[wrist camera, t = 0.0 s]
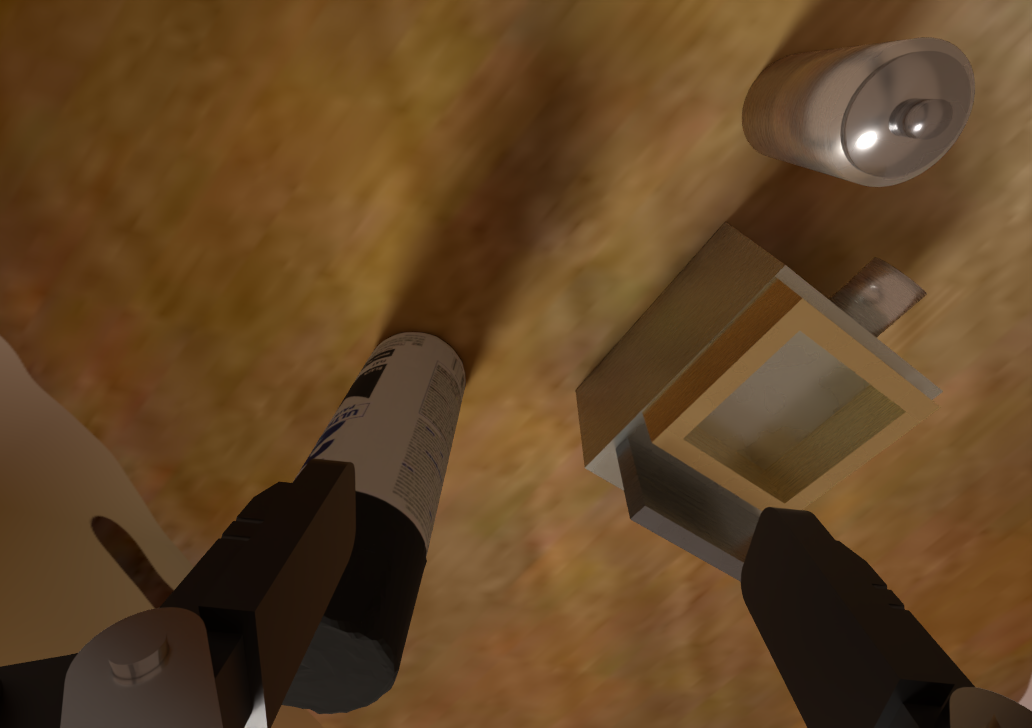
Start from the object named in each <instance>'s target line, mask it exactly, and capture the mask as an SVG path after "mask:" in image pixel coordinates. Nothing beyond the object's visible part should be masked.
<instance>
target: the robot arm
mask: <svg viewBox="0 0 1032 728" xmlns="http://www.w3.org/2000/svg"><path fill="white" fill-rule="evenodd" d="M355 532H356V499H355V467H354V464H353V463H352V462H344V461H334V460H325V459H315V458H313V459H311V460H310V461H309V462H308V463H307V465H306V466H305V467H304V468H303V470H302V471H301V472H300V474H299V475H298V476H297V478H296V479H295V480H294V482H293V483H287V482H278V483H276V484H274V485H273V486H271V487H270V488H268V489H266V490H265V491H263V492H261V493H260V494H258V495H257V496H255V497H253V499H252V500H251V501H250V502H249V503H248V505H247V506H246V507H245V508H244V509H243V510H242V512H241V513H240V514H239V515H238V516H237V519H236V521H233V522H232V523H231V524H230V526H229V527H228V528H227V529H226V530H225V531H224V533H223V534H222V538H221V539H218V540H217V541H216V542H215V543H214V544H213V546H212V547H211V548H210V549H209V550H208V551H207V553H206V554H205V555H204V556H203V557H202V558H201V560H200V561H199V562H198V563H197V564H196V565H195V567H194V568H193V569H192V570H191V571H190V573H189V574H188V575H187V576H186V577H185V578H184V580H183V581H182V582H181V583H180V584H179V585H178V587H177V588H176V589H175V590H174V591H173V592H172V594H171V595H170V596H169V597H168V598H167V599H166V601H165V602H164V603H163V604H162V605H161V607H160V608H156V609H151V610H147V611H143V612H140V613H137V614H135V615H132V616H129V617H127V618H125V619H122V620H120V621H118V622H117V623H115V624H113V625H111V626H110V627H108V628H107V629H105V630H103V631H102V632H101V633H99V634H98V635H96V636H95V637H94V638H93V639H92V640H91V641H90V642H88V643H87V644H86V645H85V646H84V647H83V648H82V649H81V651H80V652H79V653H76V654H71V655H67V656H60V657H55V658H49V659H43V660H37V661H31V662H26V663H19V664H14V665H8V666H2V667H0V728H271V726H272V724H273V722H274V720H275V718H276V715H277V713H278V711H279V709H280V707H281V705H282V703H283V700H284V698H285V696H286V694H287V692H288V690H289V688H290V685H291V683H292V681H293V679H294V677H295V675H296V673H297V670H298V668H299V666H300V664H301V662H302V660H303V658H304V656H305V653H306V651H307V649H308V647H309V645H310V643H311V641H312V638H313V636H314V634H315V632H316V630H317V628H318V626H319V623H320V621H321V619H322V617H323V615H324V613H325V611H326V608H327V606H328V604H329V602H330V600H331V598H332V596H333V594H334V591H335V589H336V587H337V585H338V583H339V581H340V579H341V576H342V574H343V572H344V570H345V568H346V566H347V564H348V561H349V559H350V556H351V553H352V549H353V545H354V540H355ZM741 589H742V594H743V598H744V601H745V603H746V606H747V608H748V610H749V612H750V614H751V616H752V618H753V620H754V622H755V624H756V626H757V628H758V630H759V632H760V634H761V636H762V638H763V640H764V642H765V644H766V646H767V648H768V650H769V652H770V654H771V656H772V658H773V660H774V662H775V664H776V666H777V668H778V670H779V672H780V674H781V676H782V678H783V680H784V682H785V684H786V686H787V688H788V690H789V692H790V694H791V696H792V698H793V700H794V702H795V704H796V706H797V708H798V710H799V712H800V714H801V716H802V718H803V720H804V722H805V724H806V726H807V728H1032V711H1030V710H1029V709H1027V708H1026V707H1024V706H1022V705H1020V704H1019V703H1017V702H1015V701H1013V700H1011V699H1009V698H1007V697H1005V696H1002V695H1000V694H997V693H995V692H992V691H989V690H985V689H981V688H976V687H975V686H974V685H973V684H972V683H971V682H970V681H969V679H968V678H967V677H966V676H965V675H964V674H963V672H962V671H961V670H960V669H959V668H958V667H957V665H956V664H955V663H954V662H953V661H952V660H951V659H950V657H949V656H948V655H947V654H946V653H945V652H944V650H943V649H942V648H941V647H940V646H939V645H938V644H937V642H936V641H935V640H934V639H933V638H932V637H931V635H930V634H929V633H928V632H927V631H926V630H925V629H924V627H923V626H922V625H921V624H920V623H919V622H918V620H917V619H916V618H915V617H914V616H913V615H912V614H911V612H910V611H909V610H905V609H904V604H903V603H902V602H901V601H900V600H899V598H898V597H897V596H896V595H895V594H894V593H893V592H892V590H888V589H887V585H886V583H885V582H884V581H883V580H882V579H881V578H880V577H879V575H878V574H877V573H876V572H875V571H874V570H873V568H872V567H871V566H870V565H869V564H868V563H867V562H866V561H865V560H864V559H862V558H861V557H860V556H858V555H857V554H856V553H854V552H853V551H852V550H850V549H849V548H848V547H846V546H845V545H844V544H842V543H841V542H840V541H836V540H835V539H834V538H833V537H832V536H831V534H830V533H829V532H828V531H827V530H826V528H825V527H824V526H823V525H822V524H821V522H820V521H819V520H818V519H817V518H816V516H815V515H814V514H813V513H811V512H809V511H804V510H795V509H785V508H775V507H767V508H765V509H764V510H763V511H762V513H761V514H760V517H759V519H758V522H757V525H756V528H755V531H754V534H753V537H752V540H751V543H750V546H749V549H748V552H747V555H746V558H745V561H744V564H743V567H742V572H741Z"/></svg>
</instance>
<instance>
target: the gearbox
mask: <svg viewBox="0 0 1032 728" xmlns="http://www.w3.org/2000/svg"><path fill="white" fill-rule="evenodd" d="M926 295H927V294H926V292H925V291H924V290H923V289H922V288H921V287H920V286H919V285H917V284H916V283H915V282H914V281H912V280H911V279H910V278H908V277H907V276H906V275H904V274H903V273H902V272H900V271H899V270H897V269H896V268H894V267H893V266H891V265H890V264H888V263H886V262H884V261H883V260H881V259H879V258H876V257H875V258H873V259H872V260H871V261H870V262H869V263H868V264H867V265H866V266H865V267H864V268H863V269H862V270H861V271H860V272H858V273H857V274H856V275H855V276H854V277H853V278H852V279H851V280H850V281H849V282H848V283H847V284H846V285H844V286H843V287H842V288H841V289H840V290H839V291H838V292H837V293H836V294H835V295H834V296H833V297H832V298H830V299H829V300H828V299H827V298H826V297H825V296H823V295H822V294H821V293H820V292H818V291H817V290H816V289H815V288H813V287H812V286H811V285H810V284H808V283H807V282H806V281H805V280H804V279H802V278H801V277H800V276H799V275H797V274H796V273H795V272H794V271H792V270H791V269H790V268H789V267H787V266H786V265H785V264H783V263H782V262H781V261H779V260H778V259H776V258H775V257H774V256H772V255H771V254H770V253H768V252H767V251H765V250H764V249H763V248H761V247H760V246H758V245H757V244H756V243H754V242H753V241H752V240H750V239H749V238H747V237H746V236H745V235H743V234H742V233H741V232H739V231H738V230H736V229H735V228H734V227H732V226H731V225H729V224H728V223H727V222H725V223H724V224H723V225H722V226H721V228H720V229H719V230H718V231H717V232H716V233H715V234H714V235H713V237H712V238H711V239H710V240H709V241H708V242H707V243H706V244H705V246H704V247H703V248H702V249H701V250H700V251H699V252H698V253H697V255H696V256H695V257H694V258H693V259H692V260H691V261H690V262H689V264H688V265H687V266H686V267H685V268H684V269H683V270H682V271H681V273H680V274H679V275H678V276H677V277H676V278H675V279H674V280H673V282H672V283H671V284H670V285H669V286H668V287H667V288H666V290H665V291H664V292H663V293H662V294H661V295H660V296H659V297H658V299H657V300H656V301H655V302H654V303H653V304H652V305H651V306H650V308H649V309H648V310H647V311H646V312H645V313H644V314H643V315H642V317H641V318H640V319H639V320H638V321H637V322H636V323H635V324H634V326H633V327H632V328H631V329H630V330H629V331H628V332H627V333H626V335H625V336H624V337H623V338H622V339H621V340H620V341H619V342H618V344H617V345H616V346H615V347H614V348H613V349H612V350H611V351H610V353H609V354H608V355H607V356H606V357H605V358H604V359H603V361H602V362H601V363H600V364H599V365H598V366H597V367H596V368H595V370H594V371H593V372H592V373H591V374H590V375H589V376H588V377H587V379H586V380H585V381H584V382H583V383H582V384H581V385H580V386H579V388H578V389H577V390H576V399H577V407H578V415H579V424H580V432H581V440H582V449H583V457H584V466H585V468H586V469H587V470H589V471H591V472H593V473H594V474H596V475H598V476H600V477H601V478H603V479H605V480H606V481H608V482H610V483H612V484H613V485H615V486H617V487H619V488H620V489H622V490H624V492H625V497H626V502H627V506H628V511H629V516H630V519H631V520H633V521H634V522H636V523H638V524H640V525H641V526H643V527H645V528H647V529H649V530H650V531H652V532H654V533H656V534H657V535H659V536H661V537H663V538H665V539H666V540H668V541H670V542H672V543H673V544H675V545H677V546H679V547H680V548H682V549H684V550H686V551H688V552H689V553H691V554H693V555H695V556H696V557H698V558H700V559H702V560H703V561H705V562H707V563H709V564H711V565H712V566H714V567H716V568H718V569H719V570H721V571H723V572H725V573H727V574H728V575H730V576H732V577H734V578H735V579H737V580H739V581H741V572H742V567H743V564H744V561H745V558H746V555H747V552H748V549H749V546H750V543H751V540H752V537H753V534H754V531H755V528H756V525H757V522H758V519H759V517H760V514H761V513H762V511H763V510H764V509H765V508H767V507H775V508H785V509H795V510H803V509H804V508H805V507H807V506H808V505H810V504H811V503H812V502H814V501H815V500H816V499H818V498H819V497H820V496H822V495H823V494H824V493H826V492H827V491H828V490H830V489H831V488H833V487H834V486H835V485H837V484H838V483H839V482H841V481H842V480H843V479H845V478H846V477H847V476H849V475H850V474H851V473H853V472H854V471H856V470H857V469H858V468H860V467H861V466H862V465H864V464H865V463H866V462H868V461H869V460H870V459H872V458H873V457H875V456H876V455H877V454H879V453H880V452H881V451H883V450H884V449H885V448H887V447H888V446H889V445H891V444H892V443H893V442H895V441H896V440H898V439H899V438H900V437H902V436H903V435H904V434H906V433H907V432H908V431H910V430H911V429H912V428H914V427H915V426H917V425H918V424H919V423H921V422H922V421H923V420H925V419H926V418H927V417H929V416H930V415H931V414H933V413H934V412H935V411H937V410H938V409H940V408H941V407H940V406H939V405H937V404H936V403H935V402H934V401H932V400H933V399H934V398H935V397H937V396H938V395H939V394H941V393H942V392H943V391H942V390H941V389H940V388H938V387H937V386H936V385H935V384H933V383H932V382H931V381H930V380H928V379H927V378H926V377H925V376H923V375H922V374H921V373H920V372H918V371H917V370H916V369H915V368H913V367H912V366H911V365H910V364H908V363H907V362H906V361H905V360H903V359H902V358H901V357H900V356H898V355H897V354H896V353H895V352H893V351H892V350H891V349H890V348H888V347H887V346H886V345H885V344H883V343H882V342H881V341H880V340H878V339H877V337H878V336H879V335H880V334H881V333H882V332H884V331H885V330H886V329H887V328H888V327H889V326H891V325H892V324H893V323H894V322H895V321H896V320H898V319H899V318H900V317H901V316H902V315H904V314H905V313H906V312H907V311H908V310H909V309H911V308H912V307H913V306H914V305H915V304H916V303H918V302H919V301H920V300H921V299H922V298H923V297H925V296H926Z"/></svg>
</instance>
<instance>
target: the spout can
mask: <svg viewBox="0 0 1032 728" xmlns="http://www.w3.org/2000/svg"><path fill="white" fill-rule="evenodd" d="M974 95H975V80H974V74H973V70H972V67H971V65H970V63H969V60H968V59H967V57H966V56H965V55H964V53H963V52H962V51H961V50H960V49H959V48H958V47H956V46H955V45H953V44H951V43H950V42H947V41H944V40H942V39H937V38H915V39H907V40H899V41H891V42H884V43H876V44H868V45H860V46H853V47H845V48H837V49H829V50H822V51H814V52H806V53H799V54H792V55H789V56H786V57H784V58H781V59H779V60H777V61H776V62H774V63H773V64H771V65H770V66H768V67H767V68H766V69H765V70H764V71H763V72H762V73H761V74H760V75H759V76H758V77H757V79H756V80H755V81H754V83H753V84H752V86H751V88H750V90H749V92H748V94H747V96H746V99H745V102H744V106H743V110H742V126H743V131H744V134H745V137H746V139H747V141H748V142H749V144H750V145H751V146H752V147H753V148H754V149H755V150H756V151H758V152H759V153H761V154H763V155H765V156H768V157H772V158H775V159H778V160H781V161H785V162H788V163H791V164H795V165H798V166H801V167H804V168H808V169H811V170H814V171H818V172H821V173H824V174H828V175H831V176H834V177H837V178H841V179H844V180H847V181H851V182H854V183H857V184H860V185H864V186H870V187H885V186H891V185H896V184H899V183H902V182H905V181H908V180H910V179H912V178H914V177H916V176H918V175H919V174H921V173H923V172H924V171H926V170H927V169H929V168H930V167H931V166H933V165H934V164H935V163H936V162H937V161H938V160H940V159H941V158H942V157H943V156H944V155H945V154H946V153H947V152H948V150H949V149H950V148H951V147H952V145H953V144H954V143H955V142H956V140H957V139H958V137H959V136H960V134H961V133H962V131H963V129H964V127H965V125H966V123H967V121H968V118H969V116H970V113H971V109H972V106H973V102H974Z"/></svg>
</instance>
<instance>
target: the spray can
mask: <svg viewBox="0 0 1032 728" xmlns="http://www.w3.org/2000/svg"><path fill="white" fill-rule="evenodd" d="M465 381H466V379H465V372H464V367H463V362H462V361H461V359H460V358H459V356H458V355H457V354H456V352H455V351H454V350H453V348H452V347H450V346H449V345H448V344H447V343H446V342H444V341H443V340H441V339H440V338H438V337H436V336H434V335H431V334H427V333H422V332H404V333H399V334H396V335H393V336H392V337H390V338H388V339H386V340H384V341H383V342H382V343H380V344H379V345H378V346H377V347H376V348H375V350H374V351H373V353H372V354H371V356H370V357H369V359H368V360H367V362H366V363H365V365H364V367H363V369H362V370H361V372H360V373H359V375H358V377H357V378H356V380H355V382H354V383H353V385H352V387H351V388H350V390H349V392H348V393H347V395H346V396H345V398H344V400H343V401H342V403H341V405H340V406H339V408H338V410H337V411H336V413H335V414H334V416H333V418H332V419H331V421H330V423H329V424H328V426H327V428H326V429H325V431H324V433H323V434H322V436H321V437H320V439H319V440H318V442H317V444H316V446H315V447H314V449H313V450H312V452H311V454H310V455H309V457H308V459H307V460H306V462H305V463H304V465H303V467H302V468H301V470H300V472H301V471H302V470H303V468H304V467H305V466H306V465H307V463H308V462H309V461H310V460H311V459H313V458H315V459H325V460H334V461H344V462H352V463H353V464H354V467H355V499H356V532H355V540H354V545H353V549H352V553H351V556H350V559H349V561H348V564H347V566H346V568H345V570H344V572H343V574H342V576H341V579H340V581H339V583H338V585H337V587H336V589H335V591H334V594H333V596H332V598H331V600H330V602H329V604H328V606H327V608H326V611H325V613H324V615H323V617H322V619H321V621H320V623H319V626H318V628H317V630H316V632H315V634H314V636H313V638H312V641H311V643H310V645H309V647H308V649H307V651H306V653H305V656H304V658H303V660H302V662H301V664H300V666H299V668H298V670H297V673H296V675H295V677H294V679H293V681H292V683H291V685H290V688H289V690H288V692H287V694H286V696H285V698H284V700H283V703H282V705H286V706H294V707H298V708H302V709H311V710H313V711H315V712H316V713H318V714H333V713H347V712H349V711H352V710H355V709H358V708H361V707H366V706H368V705H370V704H372V703H373V702H375V701H377V700H378V699H379V698H380V697H381V696H382V695H383V694H385V693H386V692H388V691H389V690H390V689H391V688H392V686H393V684H394V682H395V679H396V676H397V673H398V671H399V666H400V662H401V658H402V653H403V649H404V646H405V642H406V638H407V634H408V630H409V626H410V622H411V618H412V614H413V610H414V606H415V602H416V598H417V595H418V591H419V587H420V583H421V579H422V575H423V571H424V568H425V565H426V562H427V560H426V556H427V552H428V547H429V543H430V538H431V534H432V530H433V525H434V521H435V516H436V512H437V508H438V503H439V499H440V495H441V490H442V486H443V482H444V477H445V473H446V469H447V464H448V460H449V455H450V451H451V447H452V442H453V438H454V434H455V429H456V424H457V421H458V416H459V411H460V407H461V402H462V398H463V394H464V389H465ZM300 472H299V473H298V475H299V474H300ZM298 475H297V476H298ZM297 476H296V478H297ZM296 478H295V479H296ZM293 482H294V481H293Z"/></svg>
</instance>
